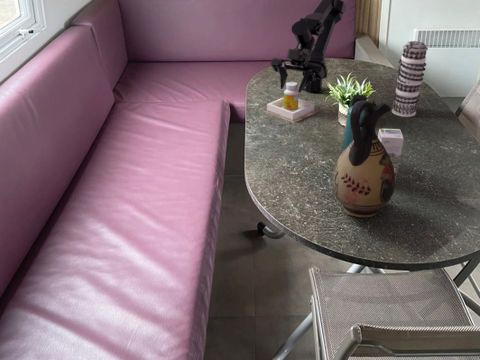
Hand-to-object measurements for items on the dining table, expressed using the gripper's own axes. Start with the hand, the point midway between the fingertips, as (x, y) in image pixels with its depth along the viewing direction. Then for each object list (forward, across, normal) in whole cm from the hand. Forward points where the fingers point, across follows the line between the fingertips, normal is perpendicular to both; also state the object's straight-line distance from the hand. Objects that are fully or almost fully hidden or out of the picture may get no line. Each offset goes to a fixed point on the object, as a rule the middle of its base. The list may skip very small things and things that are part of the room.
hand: (290, 90), depth 176 cm
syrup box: (+27, +41, -14) cm, 51 cm away
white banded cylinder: (-8, +36, +21) cm, 43 cm away
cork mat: (+5, 0, +8) cm, 9 cm away
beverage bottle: (+22, +30, -9) cm, 38 cm away
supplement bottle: (+5, 0, +7) cm, 8 cm away
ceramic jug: (+40, +38, -27) cm, 61 cm away
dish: (+5, 0, +7) cm, 9 cm away
